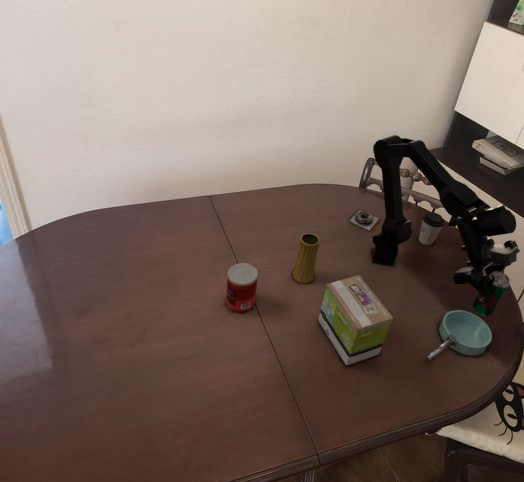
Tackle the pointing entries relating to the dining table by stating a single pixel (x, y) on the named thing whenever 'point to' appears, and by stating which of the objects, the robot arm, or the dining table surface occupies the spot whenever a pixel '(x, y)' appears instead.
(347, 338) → the tea box
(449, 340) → the pan handle
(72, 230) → the dining table surface
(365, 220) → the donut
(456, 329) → the pan
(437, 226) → the coffee cup
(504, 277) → the soda can
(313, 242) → the vase
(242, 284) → the canned food
